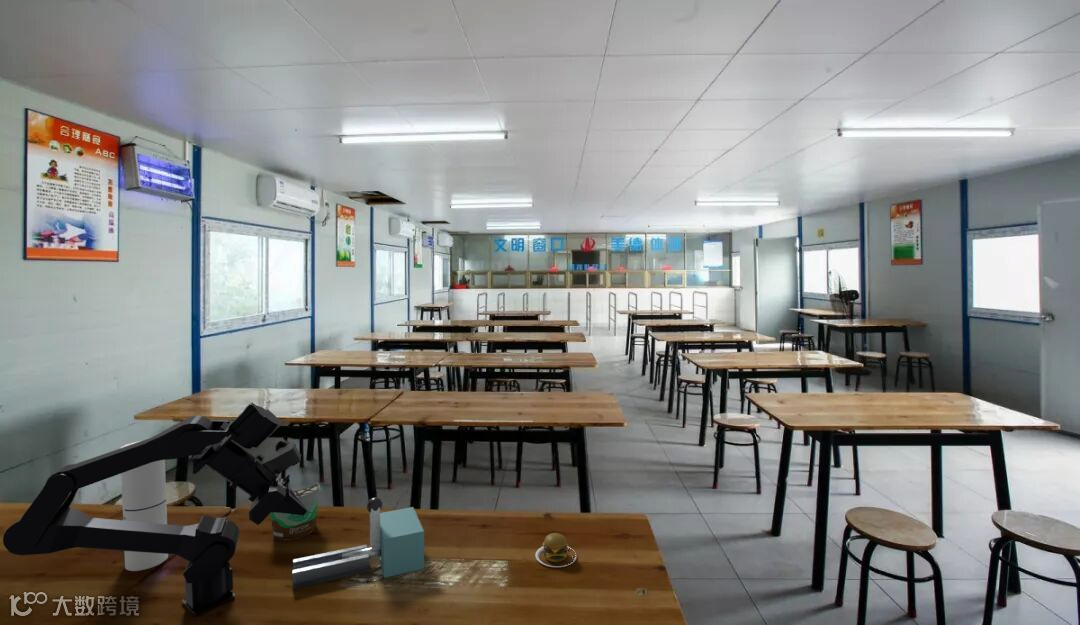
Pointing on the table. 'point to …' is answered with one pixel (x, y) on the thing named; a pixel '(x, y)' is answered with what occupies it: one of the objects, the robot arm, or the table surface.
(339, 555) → the outer sleeve
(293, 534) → the food container
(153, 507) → the cylindrical container
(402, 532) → the socket block
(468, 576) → the table surface
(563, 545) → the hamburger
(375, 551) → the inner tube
